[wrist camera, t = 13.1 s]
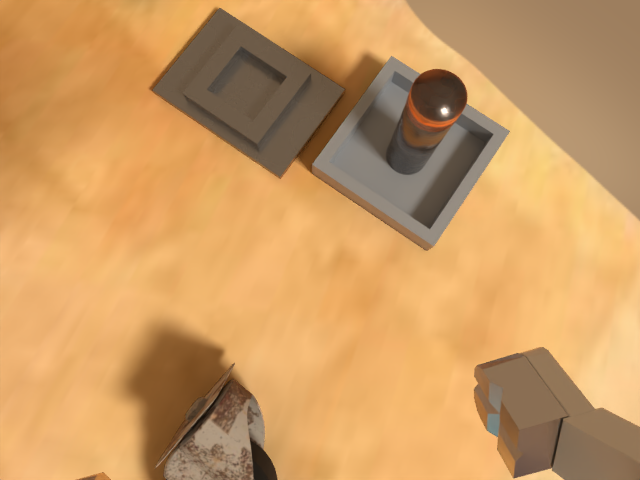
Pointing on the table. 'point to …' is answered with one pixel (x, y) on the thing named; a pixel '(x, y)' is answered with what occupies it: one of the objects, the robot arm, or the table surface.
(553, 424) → the robot arm
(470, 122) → the tray
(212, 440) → the caster wheel
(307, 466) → the table surface
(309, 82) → the collar plate
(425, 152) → the pin
